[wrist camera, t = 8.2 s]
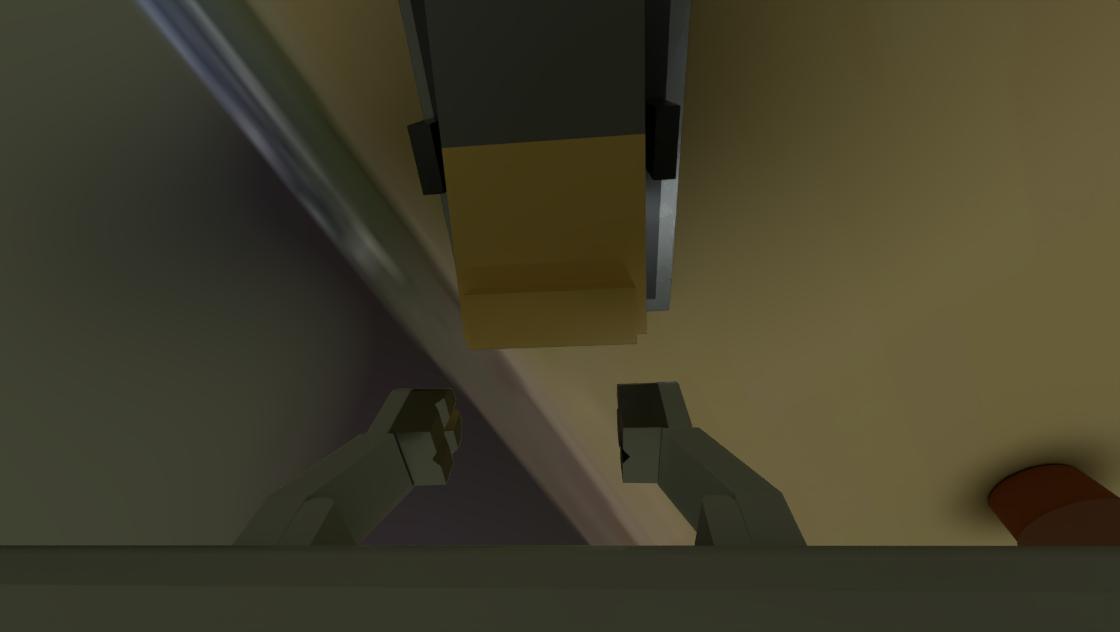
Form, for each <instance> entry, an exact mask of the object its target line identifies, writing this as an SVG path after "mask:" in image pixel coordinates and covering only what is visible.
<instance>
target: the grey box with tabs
mask: <svg viewBox="0 0 1120 632" xmlns="http://www.w3.org/2000/svg"><path fill="white" fill-rule="evenodd" d="M399 5H400V10H401V14H402V19H403V23H404V28H405V33H406V37H407V42H408V47H409V51H410V56H411V60H412V65H413V70H414V74H415V79H416V84H417V88H418V93H419V97H420V102H421V107H422V111H423V116H424V120H423V121H420V122H417V123H414V124H411V125H408V126H407V127H408V132H409V136H410V140H411V144H412V149H413V153H414V157H415V161H416V165H417V170H418V174H419V178H420V182H421V187H422V191H423V195H430V194H440V195H441V199H442V204H443V209H444V213H445V218H446V222H447V227H448V232H449V236H450V241H451V246H452V250H453V255H454V248H453V240H452V231H451V223H450V215H449V206H448V198H447V189H446V181H445V172H444V164H443V155H442V147H441V138H440V130H439V121H438V113H437V104H436V96H435V87H434V79H433V71H432V62H431V54H430V45H429V37H428V28H427V20H426V11H425V3H424V0H399ZM690 7H691V0H644V14H645V174H646V311H666V310H669V303H670V289H671V275H672V261H673V247H674V232H675V218H676V204H677V190H678V176H679V162H680V148H681V134H682V120H683V106H684V92H685V78H686V63H687V49H688V35H689V21H690ZM454 260H455V257H454Z"/></svg>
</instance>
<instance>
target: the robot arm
mask: <svg viewBox="0 0 1120 632" xmlns="http://www.w3.org/2000/svg"><path fill="white" fill-rule="evenodd" d="M455 402H456V397H455V394H454V391H453V390H452V389H450V388H443V389H442V388H436V389H434V388H430V389H425V388H424V389H395V390H394V391H392V392H391V393H390V395H389V397H388V399H387V400H386V402H385V403H384V405H383V407H382V408H381V410H380V412H379V414H378V415H377V417H376V418H375V420H374V422H373V423H372V425H371V427H370V429H369V430H368V432H367V434H360V435H359V436H357V437H355V438H354V439H353V440H351V441H350V442H348V443H347V444H345V445H344V446H342V447H341V448H339V449H338V450H336V451H335V452H333V453H332V454H330V455H329V456H327V457H326V458H324V459H323V460H321V461H320V462H318V463H317V464H315V465H314V466H312V467H311V468H309V469H308V470H306V471H305V472H303V473H302V474H301V475H299V476H297V477H296V478H294V479H293V480H291V481H290V482H288V483H287V484H286V485H284V486H282V487H281V488H279V489H278V490H277V491H275V492H274V493H272V494H271V495H269V496H268V497H267V498H266V499H265V501H264V502H263V503H262V505H261V506H260V508H259V509H258V510H257V512H256V513H255V514H254V516H253V517H252V518H251V520H250V521H249V522H248V524H247V525H246V527H245V528H244V529H243V531H242V532H241V533H240V535H239V536H238V537H237V539H236V540H235V541H234V543H233V544H232V545H51V546H50V545H38V546H37V545H5V546H4V545H0V632H1120V546H807V544H806V542H805V540H804V538H803V536H802V534H801V532H800V530H799V528H798V526H797V524H796V521H795V519H794V517H793V515H792V513H791V511H790V509H789V507H788V505H787V503H786V501H785V498H784V496H783V494H782V493H781V492H780V491H779V490H778V489H776V488H775V487H774V486H773V485H771V484H770V483H769V482H767V481H766V480H765V479H764V478H762V477H761V476H760V475H759V474H757V473H756V472H755V471H753V470H752V469H751V468H750V467H748V466H747V465H746V464H745V463H743V462H742V461H741V460H739V459H738V458H737V457H736V456H734V455H733V454H732V453H731V452H729V451H728V450H727V449H726V448H724V447H723V446H722V445H720V444H719V443H718V442H717V441H715V440H714V439H713V438H712V437H710V436H709V435H708V434H706V433H705V432H704V431H703V430H701V429H700V428H693V427H692V424H691V421H690V417H689V414H688V411H687V408H686V405H685V402H684V399H683V396H682V393H681V390H680V386H679V384H678V383H677V382H676V381H671V382H657V383H632V384H617V402H618V409H617V430H618V442H619V447H620V462H621V470H622V479H623V483H658V485H659V487H660V488H661V489H662V490H663V492H664V493H665V494H666V495H667V496H668V498H669V499H670V500H671V501H672V503H673V504H674V505H675V506H676V508H677V509H678V510H679V511H680V512H681V514H682V515H683V516H684V517H685V519H686V520H687V521H688V522H689V523H690V525H691V526H692V527H693V528H694V530H695V531H696V532H697V534H696V540H695V546H458V545H457V546H455V545H454V546H452V545H449V546H446V545H444V546H442V545H441V546H438V545H436V546H435V545H433V546H431V545H428V546H427V545H426V546H425V545H419V546H418V545H416V546H414V545H411V546H410V545H399V546H398V545H397V546H395V545H390V546H388V545H367V546H366V545H359V546H358V544H359V543H360V542H361V541H362V540H363V539H364V538H365V537H366V536H367V535H368V534H369V533H370V532H371V531H372V530H373V529H374V528H375V527H376V526H377V525H378V524H379V523H380V522H381V521H382V519H383V518H385V516H386V515H387V514H388V513H389V512H390V511H391V510H392V509H393V508H394V507H395V506H396V505H397V504H398V503H399V502H400V501H401V500H402V499H403V498H404V497H405V496H406V495H407V494H408V493H409V492H410V491H411V490H412V489H413V486H418V485H444V484H447V481H448V478H449V475H450V472H451V469H452V466H453V463H454V462H453V459H452V455H451V454H453V453H454V452H455V451H456V450H457V449H458V448H459V444H460V440H461V434H462V423H461V417H460V413H459V412H458V411H457V410H455V409H454V405H455Z"/></svg>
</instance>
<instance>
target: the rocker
mask: <svg viewBox="0 0 1120 632" xmlns="http://www.w3.org/2000/svg"><path fill="white" fill-rule="evenodd" d="M424 3H425V11H426V20H427V28H428V37H429V45H430V54H431V62H432V71H433V79H434V87H435V96H436V104H437V113H438V121H439V130H440V138H441V147H442V155H443V164H444V172H445V181H446V189H447V198H448V206H449V215H450V223H451V231H452V240H453V248H454V257H455V265H456V274H457V282H458V291H459V299H460V308H461V316H462V325H463V333H464V340H467V341H468V350H479V349H508V348H536V347H565V346H594V345H623V344H637V334H647V333H646V174H645V14H644V0H424Z"/></svg>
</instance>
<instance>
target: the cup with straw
mask: <svg viewBox="0 0 1120 632" xmlns="http://www.w3.org/2000/svg"><path fill="white" fill-rule="evenodd" d="M989 504H990V507H991V509H992V510H993V511H994V513H995V514H996V515H997V517H998V518H999V519H1000V520H1001V522H1002V523H1003V524H1004V526H1005V527H1006V528H1007V529H1008V531H1009V532H1010V533H1011V534H1012V536H1013V537H1014V538H1015V539H1016V541H1017V544H1018V546H1120V498H1119V497H1118V496H1116V495H1115V494H1113V493H1112V492H1111V491H1109V490H1108V489H1106V488H1105V487H1103V486H1102V485H1100V484H1099V483H1097V482H1096V481H1095V480H1093V479H1092V478H1090V477H1089V476H1087V475H1086V474H1084V473H1083V472H1081V471H1080V470H1078V469H1076V468H1074V467H1071V466H1066V465H1044V466H1038V467H1034V468H1030V469H1027V470H1024V471H1021V472H1019V473H1016V474H1014V475H1012V476H1010V477H1009V478H1007V479H1005V480H1004V481H1003V482H1001V483H1000V484H999V485H998V486H997V487H996V488H995V489H994V490H993V492H992V493H991V495H990V498H989Z"/></svg>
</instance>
